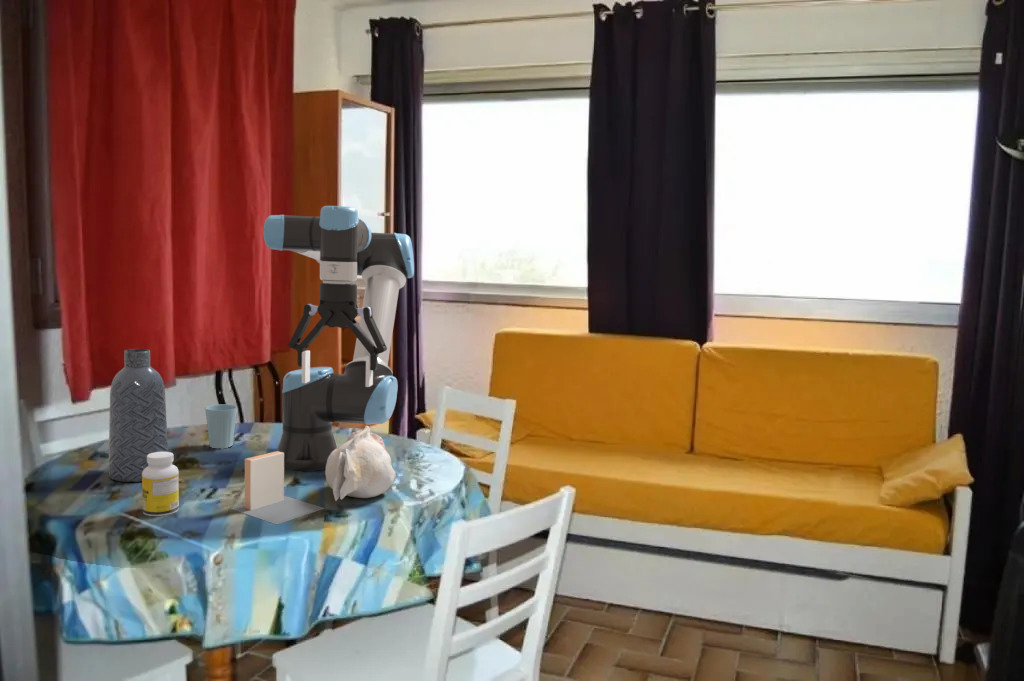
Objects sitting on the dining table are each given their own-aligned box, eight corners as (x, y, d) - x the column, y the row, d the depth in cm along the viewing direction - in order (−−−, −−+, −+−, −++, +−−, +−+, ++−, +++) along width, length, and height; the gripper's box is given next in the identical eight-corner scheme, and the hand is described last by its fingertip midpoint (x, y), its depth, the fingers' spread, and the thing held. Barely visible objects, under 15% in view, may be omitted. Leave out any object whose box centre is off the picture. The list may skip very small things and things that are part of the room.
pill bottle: (149, 507, 154) (149, 450, 152) (183, 507, 154) (183, 450, 153) (137, 518, 147) (136, 458, 146) (172, 518, 148) (171, 459, 146)
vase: (100, 474, 174) (97, 349, 171) (155, 464, 183) (153, 345, 179) (121, 486, 166) (119, 355, 162) (178, 476, 174) (176, 351, 171)
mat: (229, 510, 153) (229, 508, 153) (278, 496, 163) (278, 494, 163) (276, 527, 146) (276, 524, 145) (325, 510, 155) (325, 508, 155)
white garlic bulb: (412, 495, 167) (413, 427, 166) (340, 515, 153) (341, 441, 151) (364, 479, 178) (365, 414, 176) (292, 497, 163) (293, 427, 161)
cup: (240, 448, 200) (240, 408, 199) (209, 451, 196) (209, 411, 194) (232, 441, 206) (232, 403, 205) (202, 445, 202) (201, 405, 201)
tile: (244, 508, 154) (244, 458, 153) (277, 498, 160) (277, 451, 159) (251, 510, 153) (251, 460, 151) (283, 500, 159) (284, 452, 158)
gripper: (272, 280, 157) (272, 383, 160) (393, 285, 154) (391, 390, 157) (286, 278, 164) (286, 377, 167) (402, 283, 162) (400, 384, 165)
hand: (337, 384), depth 162 cm, fingers open, 13 cm apart
